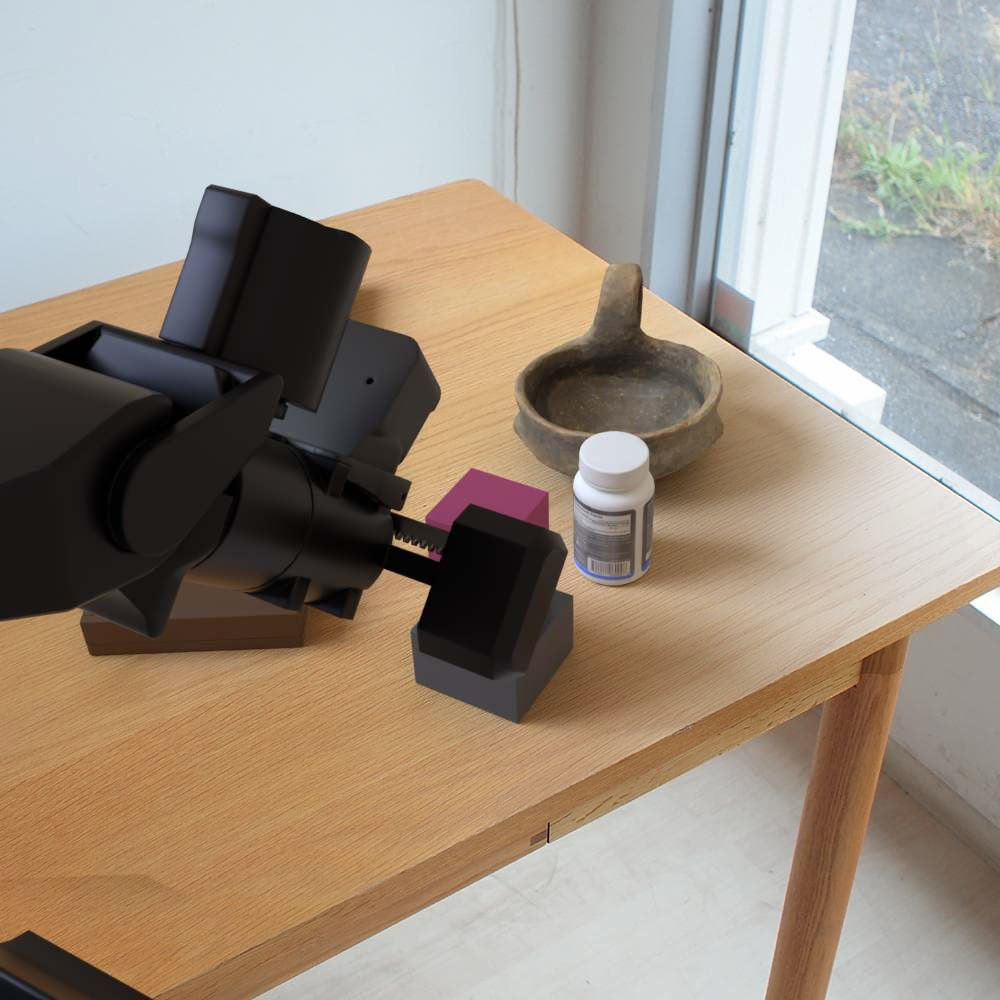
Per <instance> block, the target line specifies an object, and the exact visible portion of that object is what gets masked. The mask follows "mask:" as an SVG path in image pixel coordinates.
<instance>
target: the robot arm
mask: <svg viewBox="0 0 1000 1000" xmlns="http://www.w3.org/2000/svg"><path fill="white" fill-rule="evenodd" d="M195 215H196V216H195V219H194V222H193V228H192V234H191V239H190V244H189V247H188V251H187V253H186V256H185V259H184V262H183V265H182V268H181V271H180V273H179V276H178V280H177V282H176V285H175V287H174V291H173V294H172V296H171V299H170V302H169V305H168V308H167V311H166V314H165V317H164V319H163V323H162V325H161V329H160V331H159V334H158V337H154V336H151V335H148V334H144V333H142V332H138V331H135V330H131V329H128V328H124V327H122V326H119V325H114V324H111V323H108V322H105V321H101V320H97V319H94V320H91V321H88V322H87V323H85V324H82V325H81V326H79V327H76V328H74V329H72V330H69V331H68V332H66V333H63V334H61V335H59V336H57V337H55V338H53V339H51V340H49V341H47V342H45V343H42V344H40V345H39V346H36V347H33V348H32V349H30V350H27V349H23V348H18V347H3V348H0V623H3V622H10V621H16V620H23V619H28V618H35V617H36V618H37V617H43V616H51V615H57V614H64V613H69V612H71V611H74V610H76V609H79V610H81V611H83V610H84V611H86V612H88V613H91V614H93V615H96V616H98V617H100V618H103V619H105V620H108V621H110V622H112V623H115V624H117V625H119V626H122V627H124V628H127V629H129V630H131V631H134V632H136V633H139V634H141V635H143V636H146V637H148V638H151V639H156V638H159V637H160V636H161V635H162V634H163V633H164V631H165V628H166V625H167V623H168V620H169V617H170V614H171V611H172V608H173V605H174V602H175V599H176V597H177V594H178V591H179V588H180V585H181V582H182V581H185V582H191V583H197V584H202V585H208V586H214V587H220V588H225V589H231V590H236V591H241V592H243V593H246V594H248V595H251V596H253V597H256V598H258V599H261V600H263V601H266V602H268V603H271V604H274V605H276V606H279V607H281V608H284V609H286V610H292V611H298V612H301V609H302V606H303V604H305V605H308V607H311V608H313V609H316V610H319V611H321V612H323V613H325V614H328V615H331V616H334V617H337V618H339V619H342V620H348V621H354V619H355V616H356V612H357V609H358V607H359V604H360V601H361V598H362V596H363V592H364V591H367V590H369V589H370V588H371V587H372V586H373V585H374V584H375V583H376V582H377V581H378V579H379V578H380V576H381V575H382V573H383V571H384V570H385V571H388V572H392V573H394V574H397V575H398V576H402V577H405V578H408V579H411V580H413V581H416V582H418V583H421V584H423V585H427V586H430V588H429V591H428V594H427V597H426V600H425V603H424V605H423V608H422V611H421V614H420V617H419V620H418V621H419V623H418V625H417V637H418V646H419V652H421V653H424V654H427V655H429V656H432V657H434V658H437V659H439V660H442V661H444V662H447V663H450V664H452V665H455V666H457V667H460V668H462V669H465V670H467V671H470V672H472V673H475V674H478V675H480V676H483V677H485V678H488V679H490V680H494V681H505V682H511V681H513V680H515V679H517V678H519V677H521V676H523V675H525V674H527V672H528V669H529V666H530V663H531V660H532V657H533V654H534V651H535V648H536V645H537V642H538V639H539V637H540V634H541V631H542V628H543V625H544V622H545V619H546V616H547V613H548V610H549V607H550V604H551V601H552V598H553V595H554V593H555V590H557V586H558V583H559V580H560V578H561V575H562V572H563V569H564V565H565V563H566V560H567V557H568V554H569V550H568V547H567V545H566V544H565V541H564V539H563V536H562V535H561V533H558V532H556V531H554V530H552V529H550V528H549V529H546V528H544V527H541V526H538V525H535V524H532V523H529V522H526V521H523V520H520V519H517V518H514V517H511V516H508V515H505V514H502V513H499V512H496V511H493V510H490V509H487V508H484V507H481V506H478V505H475V504H472V503H470V504H469V505H468V506H467V507H466V508H465V509H464V510H463V511H462V513H461V514H460V515H459V516H458V517H457V518H456V519H455V520H454V521H453V524H452V527H451V530H450V532H449V531H446V530H443V529H440V528H437V527H435V526H432V525H429V524H426V522H423V521H420V520H418V519H415V518H411V517H409V516H406V515H403V514H399V513H397V512H401V511H403V509H404V507H405V504H406V501H407V498H408V495H409V493H410V490H411V486H412V483H413V481H411V480H408V479H406V478H404V477H401V476H399V475H397V474H396V473H397V470H398V467H399V466H400V465H401V464H402V463H403V462H404V461H405V459H406V457H407V456H408V454H409V452H410V450H411V449H412V446H413V445H414V443H415V441H416V440H417V438H418V436H419V434H420V432H421V430H422V429H423V427H424V425H425V424H426V422H427V420H428V418H429V416H430V415H431V413H433V412H434V411H435V410H436V408H437V407H438V405H439V403H440V400H441V398H442V389H441V385H440V383H439V382H438V380H437V378H436V376H435V374H434V373H433V370H432V368H431V366H430V365H429V363H428V361H427V358H426V356H425V355H424V353H423V351H422V348H421V347H420V344H419V342H418V341H417V340H416V339H415V338H414V337H412V336H410V335H407V334H404V333H401V332H397V331H393V330H389V329H386V328H383V327H379V326H375V325H372V324H368V323H364V322H361V321H357V320H354V319H350V317H351V315H352V311H353V309H354V305H355V303H356V300H357V297H358V294H359V291H360V289H361V285H362V282H363V279H364V276H365V273H366V271H367V268H368V265H369V262H370V259H371V255H372V253H373V249H372V247H371V246H370V245H369V243H367V242H366V241H365V240H364V239H362V238H361V237H359V236H357V234H355V233H353V232H350V231H347V230H344V229H341V228H340V229H339V228H336V227H332V226H327V225H324V224H322V223H320V222H318V221H315V220H313V219H311V218H308V217H306V216H303V215H301V214H298V213H296V212H293V211H290V210H287V209H284V208H282V207H278V206H276V205H272V204H271V203H270V202H268V201H267V200H265V199H264V198H262V196H259V195H258V194H257V193H252V192H247V191H243V190H238V189H234V188H231V187H226V186H221V185H217V184H213V183H212V184H209V185H207V186H206V187H205V189H204V192H203V195H202V197H201V200H200V203H199V206H198V210H197V212H196V214H195ZM272 419H273V421H272ZM271 422H272V423H271ZM392 510H393V511H394V512H393V511H392ZM395 511H396V512H395ZM394 540H396V541H401V540H402V543H405V544H410V545H411V546H413V547H417V546H419V549H422V550H426V548H427V552H428V551H430V552H434V550H435V549H436V554H439V555H442V556H441V559H440V561H437V560H435V559H432V558H429V556H426V555H424V554H420V553H417V552H414V551H412V550H409V549H406V548H403V547H401V546H399V545H395V544H393V542H394ZM0 1000H155V999H154V998H152V997H151V996H149V995H147V994H145V993H143V992H142V991H140V990H138V989H136V988H134V987H132V986H131V985H129V984H127V983H125V982H124V981H121V980H120V979H119V978H117V977H114V976H113V975H111V974H109V973H107V972H106V971H104V970H102V969H100V968H98V967H97V966H96V965H93V964H92V963H90V962H87V961H86V960H84V959H82V958H81V957H79V956H77V955H75V954H73V953H71V952H70V951H68V950H66V949H64V948H63V947H61V946H59V945H58V944H55V943H54V942H51V941H50V940H48V939H46V938H45V937H43V936H41V935H39V934H37V933H36V932H34V931H32V930H31V929H28V930H26V931H24V932H22V933H20V934H18V935H17V936H15V937H13V938H12V939H9V940H6V941H2V942H0Z"/></svg>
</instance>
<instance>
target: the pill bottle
mask: <svg viewBox="0 0 1000 1000" xmlns="http://www.w3.org/2000/svg"><path fill="white" fill-rule="evenodd" d="M655 490H656V489H655V480H653V477H652V475H651V473H650V472H649V449H648V447H647V445H646V444H645V442H644V441H643V440H641V439H640V438H638V437H637V436H635V435H632V434H629V433H626V432H619V431H609V432H603V433H598V434H596V435H593V436H591V437H590V438H588V439H587V440H586V441H585V442H584V443H583V444H582V446H581V448H580V453H579V471H578V472H577V474H576V476H575V478H574V477H573V482H572V500H573V504H572V506H573V512H572V513H573V515H572V517H573V520H572V521H573V522H572V525H573V530H572V532H573V533H572V534H573V562H574V566H575V568H576V570H577V571H578V572H579V573H580V574H581V575H582V576H583V577H585V578H586V579H587V580H589V581H591V582H593V583H596V584H598V585H604V586H621V585H626V584H630V583H632V582H635V581H636V580H639V579H640V578H641V577H643V576H644V575H645V574H646V573H647V572H648V571H649V569H650V567H651V564H652V556H653V555H652V554H653V532H654V516H655V515H654V513H655V511H654V510H655V509H654V508H655Z"/></svg>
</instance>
